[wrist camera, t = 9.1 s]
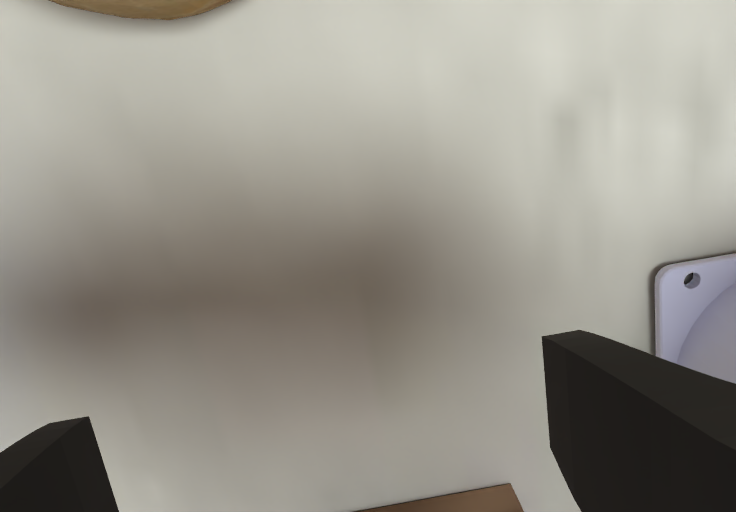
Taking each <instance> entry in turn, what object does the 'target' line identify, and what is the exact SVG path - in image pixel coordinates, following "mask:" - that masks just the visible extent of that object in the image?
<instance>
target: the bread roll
mask: <svg viewBox="0 0 736 512" xmlns="http://www.w3.org/2000/svg"><path fill="white" fill-rule="evenodd" d="M49 1H52V2H55V3H57V4H60V5H63V6H67V7H73V8H78V9H83V10H88V11H93V12H98V13H103V14H109V15H115V16H119V17H126V18H150V19H164V20H172V19H177V18H183V17H188V16H193V15H197V14H201V13H204V12H207V11H209V10H212V9H214V8H216V7H219V6H221V5H223V4H225V3H228V2H230V1H232V0H49Z"/></svg>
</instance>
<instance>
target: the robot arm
mask: <svg viewBox="0 0 736 512" xmlns="http://www.w3.org/2000/svg"><path fill="white" fill-rule="evenodd" d="M692 272H693V279H692V280H691V281H690V283H688V284H685V285H684V279H685V277H686V276H687V275H688V274H690V273H692ZM655 338H656V356H654V355H651V354H649V353H646V352H643V351H641V350H638V349H635V348H633V347H630V346H627V345H625V344H622V343H619V342H617V341H614V340H611V339H608V338H605V337H602V336H599V335H596V334H593V333H590V332H586V331H582V330H576V331H571V332H565V333H559V334H554V335H548V336H542V345H543V358H544V371H545V384H546V398H547V411H548V424H549V437H550V448H551V450H552V452H553V454H554V457H555V459H556V461H557V463H558V466H559V468H560V470H561V472H562V474H563V477H564V479H565V481H566V483H567V485H568V487H569V489H570V491H571V493H572V495H573V497H574V500H575V501H576V503H577V505H578V506H579V508H580V509H581V511H582V512H736V253H734V254H728V255H722V256H717V257H711V258H705V259H699V260H693V261H687V262H681V263H676V264H670V265H667V266H664V267H663V268H662V269H661V270H659V272H658V273H657V275H656V277H655ZM0 512H119V510H118V507H117V504H116V501H115V498H114V495H113V491H112V488H111V485H110V482H109V479H108V476H107V472H106V469H105V466H104V463H103V460H102V456H101V453H100V450H99V447H98V444H97V441H96V437H95V434H94V431H93V428H92V425H91V422H90V418H89V416H88V417H82V418H77V419H71V420H65V421H60V422H54V423H49V424H47V425H45V426H43V427H41V428H39V429H37V430H36V431H34V432H32V433H30V434H29V435H27V436H25V437H24V438H22V439H21V440H19V441H17V442H16V443H14V444H13V445H11V446H10V447H8V448H7V449H5V450H4V451H2V452H1V453H0Z"/></svg>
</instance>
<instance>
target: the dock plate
mask: <svg viewBox="0 0 736 512" xmlns="http://www.w3.org/2000/svg"><path fill="white" fill-rule="evenodd" d="M358 512H524V511H523V509H522V507H521V505H520V502H519V500H518V498H517V496H516V494H515V492H514V490H513V488H512V486H511V484H506V485H501V486H495V487H490V488H484V489H479V490H473V491H468V492H462V493H457V494H451V495H446V496H440V497H435V498H429V499H424V500H418V501H413V502H408V503H402V504H397V505H391V506H386V507H380V508H375V509H369V510H364V511H358Z"/></svg>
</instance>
